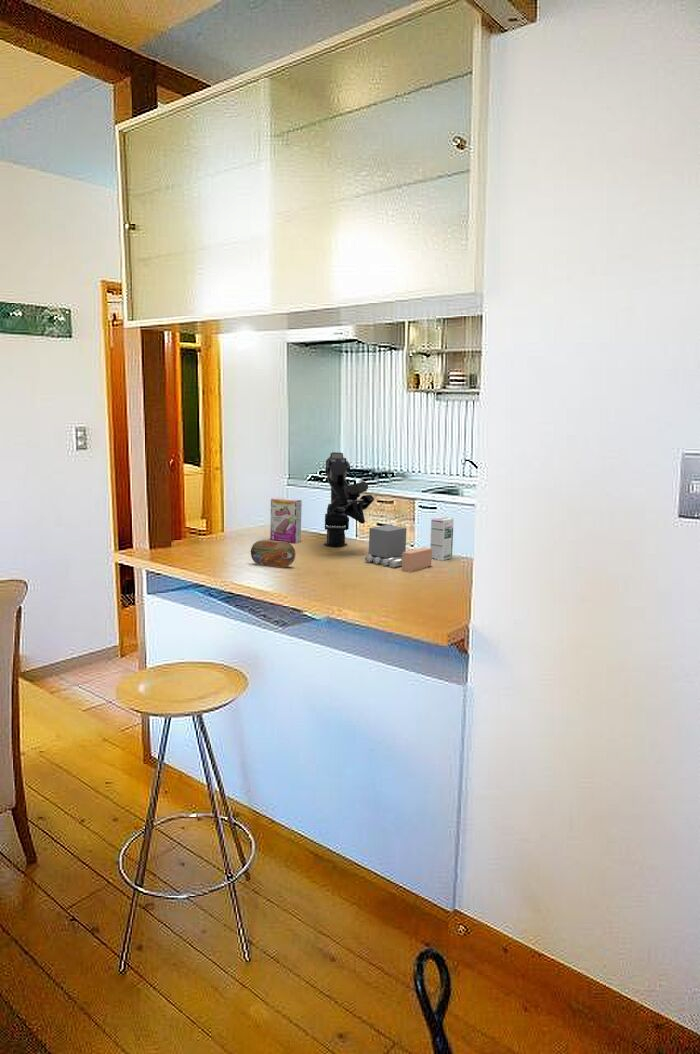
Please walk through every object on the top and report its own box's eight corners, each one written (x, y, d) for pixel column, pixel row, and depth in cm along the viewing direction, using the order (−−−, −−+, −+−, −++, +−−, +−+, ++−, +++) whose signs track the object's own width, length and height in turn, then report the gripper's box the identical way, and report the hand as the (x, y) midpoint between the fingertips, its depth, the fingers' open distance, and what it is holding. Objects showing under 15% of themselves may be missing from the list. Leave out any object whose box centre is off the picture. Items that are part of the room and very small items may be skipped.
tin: (250, 564, 231) (250, 539, 230) (254, 562, 234) (254, 537, 233) (292, 569, 227) (293, 543, 226) (296, 566, 230) (296, 541, 229)
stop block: (401, 570, 229) (402, 552, 228) (423, 564, 238) (424, 547, 237) (409, 571, 227) (410, 553, 226) (431, 566, 236) (432, 548, 235)
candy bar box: (269, 540, 272) (270, 498, 269) (275, 538, 276) (276, 497, 273) (295, 543, 268) (296, 500, 265) (301, 541, 272) (302, 499, 269)
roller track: (364, 561, 240) (365, 555, 239) (387, 556, 248) (387, 550, 248) (394, 568, 231) (394, 561, 231) (416, 563, 240) (416, 556, 239)
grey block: (368, 554, 239) (369, 528, 238) (387, 550, 247) (388, 524, 245) (386, 557, 234) (387, 531, 233) (405, 553, 241) (406, 528, 240)
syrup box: (442, 560, 245) (445, 519, 242) (429, 557, 249) (431, 517, 246) (452, 558, 249) (454, 518, 246) (438, 555, 253) (440, 515, 250)
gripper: (335, 475, 240) (358, 511, 234) (371, 472, 253) (393, 506, 248) (318, 495, 247) (340, 531, 241) (354, 491, 260) (376, 525, 255)
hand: (363, 522), depth 246 cm, fingers closed
